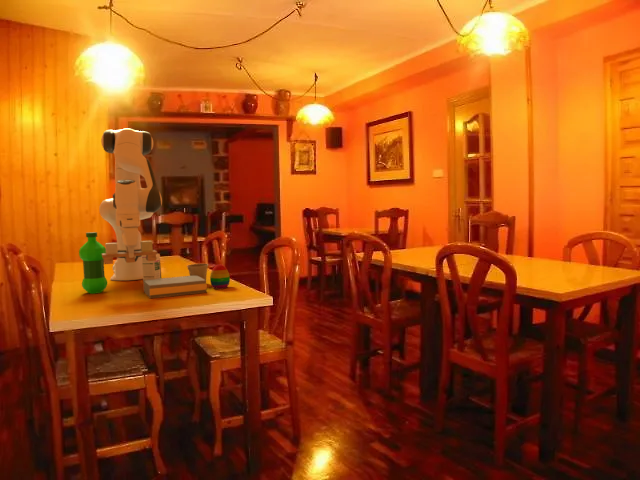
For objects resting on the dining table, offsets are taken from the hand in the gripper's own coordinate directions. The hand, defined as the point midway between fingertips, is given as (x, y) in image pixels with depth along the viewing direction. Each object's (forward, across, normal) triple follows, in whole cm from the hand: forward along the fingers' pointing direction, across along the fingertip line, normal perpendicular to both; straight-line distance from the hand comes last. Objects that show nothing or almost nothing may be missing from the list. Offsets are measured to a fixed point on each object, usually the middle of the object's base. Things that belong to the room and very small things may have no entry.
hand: (130, 256), depth 212 cm
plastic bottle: (+16, -18, -13) cm, 28 cm away
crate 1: (-2, 0, -7) cm, 7 cm away
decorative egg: (+16, 0, +36) cm, 39 cm away
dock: (+16, 0, +16) cm, 23 cm away
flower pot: (+16, -14, +29) cm, 36 cm away
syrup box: (+16, -18, +10) cm, 26 cm away
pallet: (+2, 0, 0) cm, 2 cm away
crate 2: (-2, 0, +6) cm, 7 cm away
